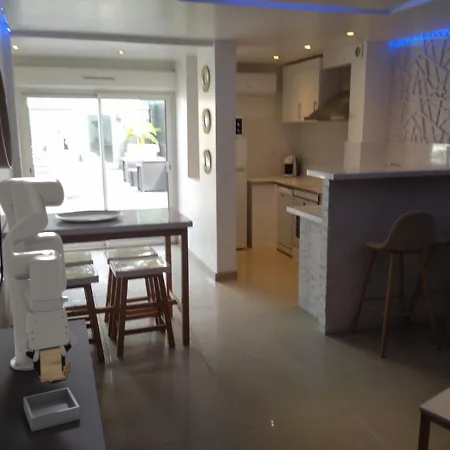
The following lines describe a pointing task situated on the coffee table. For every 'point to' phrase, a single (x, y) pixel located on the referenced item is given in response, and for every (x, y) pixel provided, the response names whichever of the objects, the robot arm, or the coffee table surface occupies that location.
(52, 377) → the oak block
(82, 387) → the coffee table surface
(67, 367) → the shard
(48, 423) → the tray
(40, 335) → the robot arm
